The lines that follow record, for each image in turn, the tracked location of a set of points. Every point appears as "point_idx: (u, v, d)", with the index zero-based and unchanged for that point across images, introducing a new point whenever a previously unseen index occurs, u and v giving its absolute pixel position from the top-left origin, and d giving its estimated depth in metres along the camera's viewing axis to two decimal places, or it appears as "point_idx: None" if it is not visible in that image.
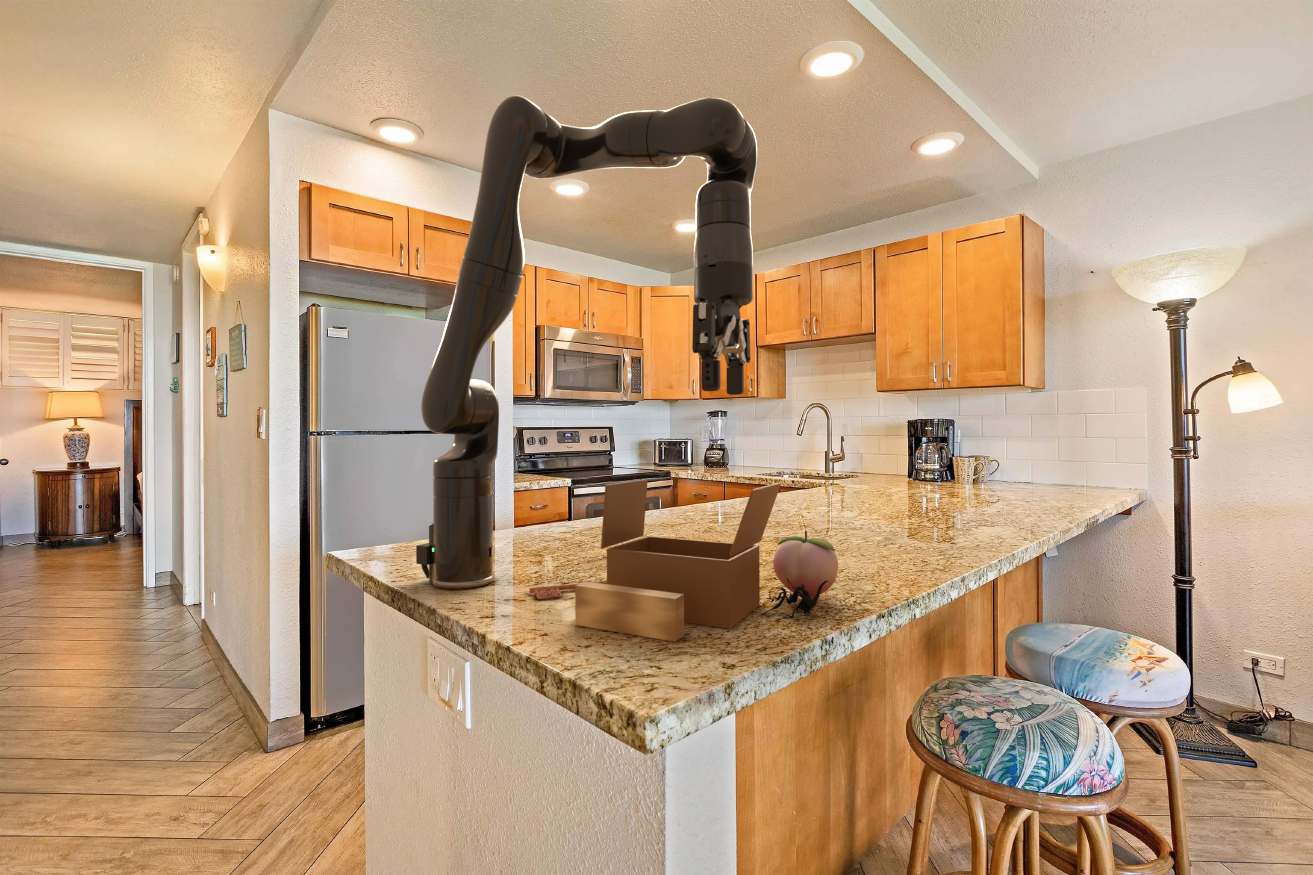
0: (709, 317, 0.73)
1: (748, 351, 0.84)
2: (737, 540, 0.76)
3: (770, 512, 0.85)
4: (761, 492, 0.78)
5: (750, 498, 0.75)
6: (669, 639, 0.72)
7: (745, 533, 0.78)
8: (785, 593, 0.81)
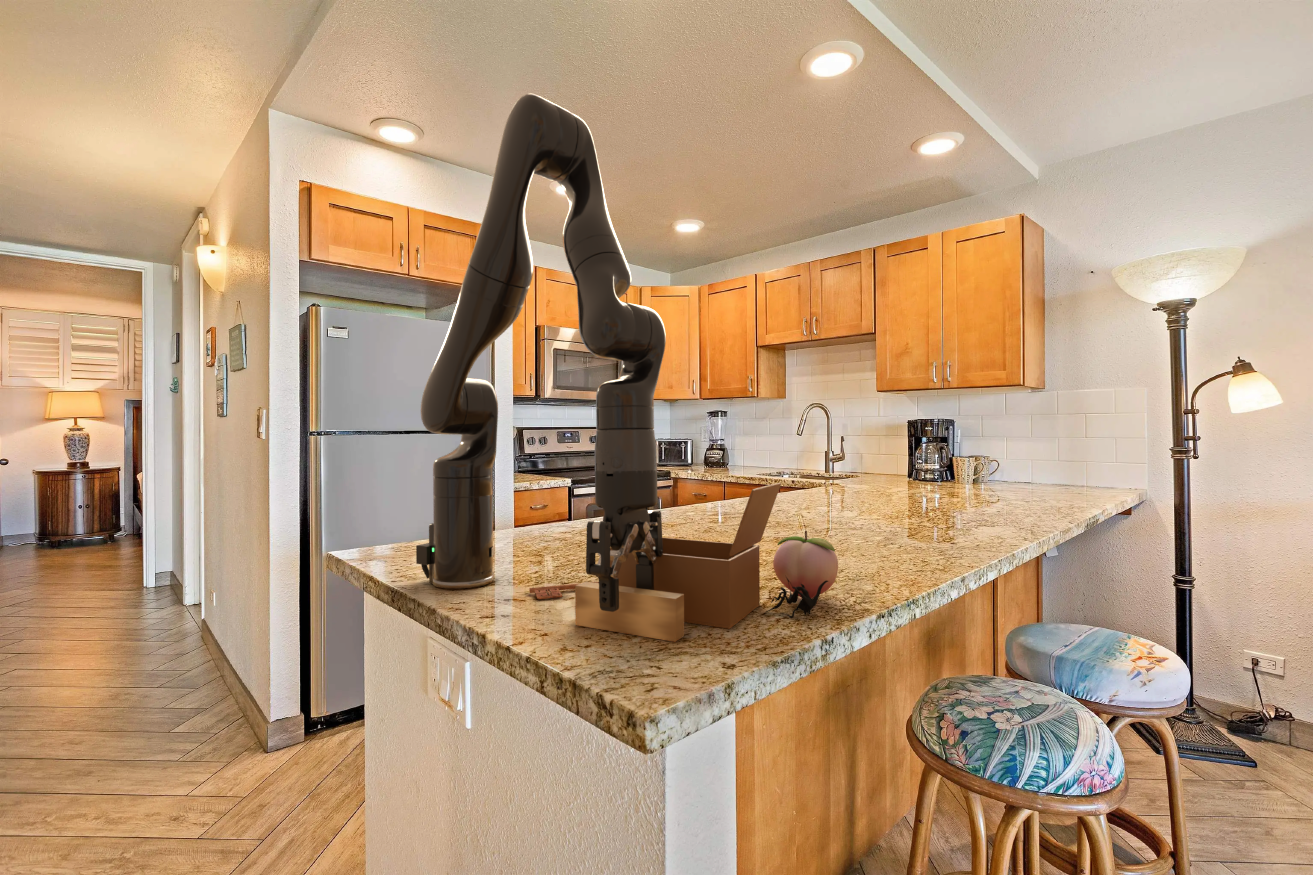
0: (602, 539, 0.68)
1: (660, 544, 0.80)
2: (737, 540, 0.76)
3: (770, 512, 0.85)
4: (761, 492, 0.78)
5: (750, 498, 0.75)
6: (669, 639, 0.72)
7: (745, 533, 0.78)
8: (785, 593, 0.81)
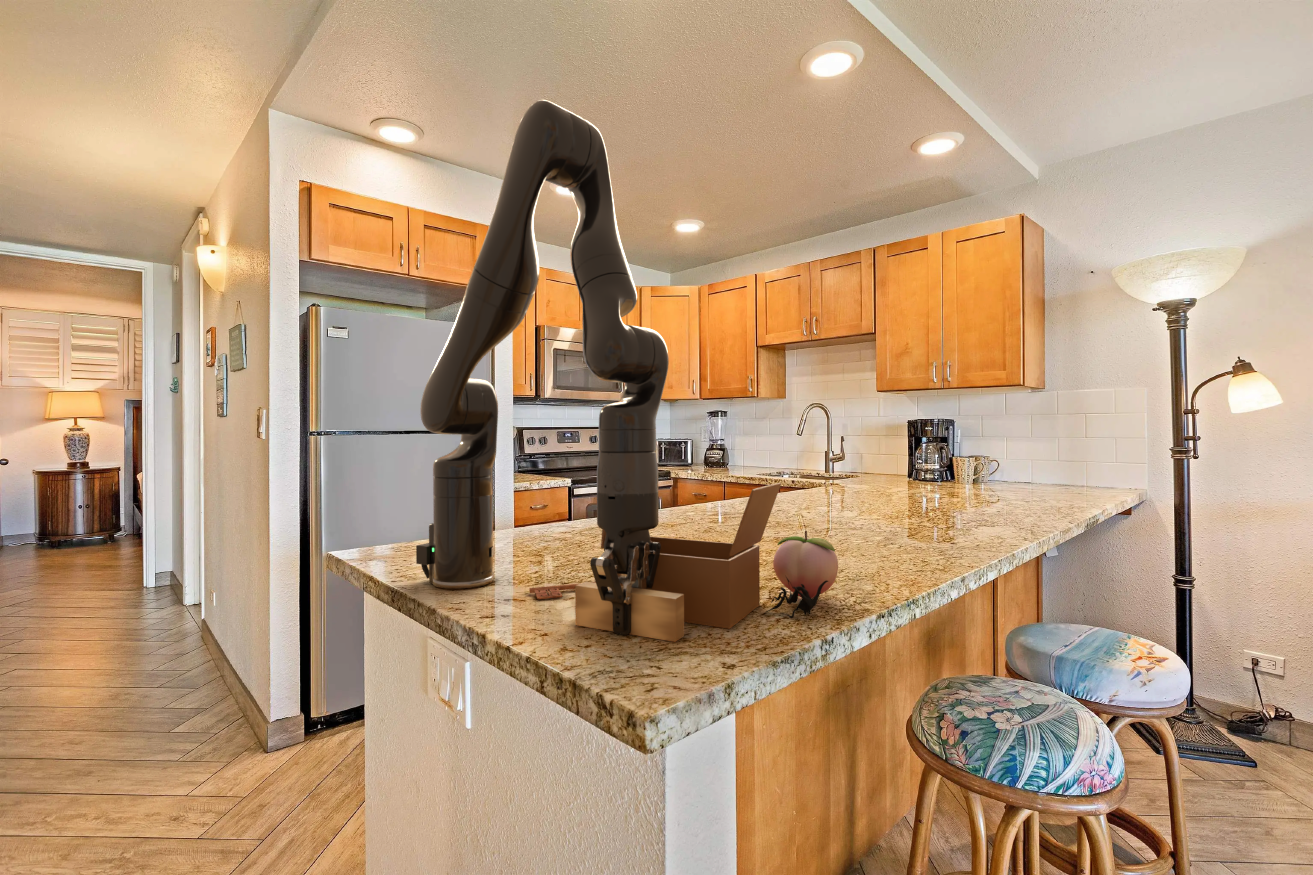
0: (609, 577, 0.70)
1: (652, 575, 0.79)
2: (737, 540, 0.76)
3: (770, 512, 0.85)
4: (761, 492, 0.78)
5: (750, 498, 0.75)
6: (669, 639, 0.72)
7: (745, 533, 0.78)
8: (785, 593, 0.81)
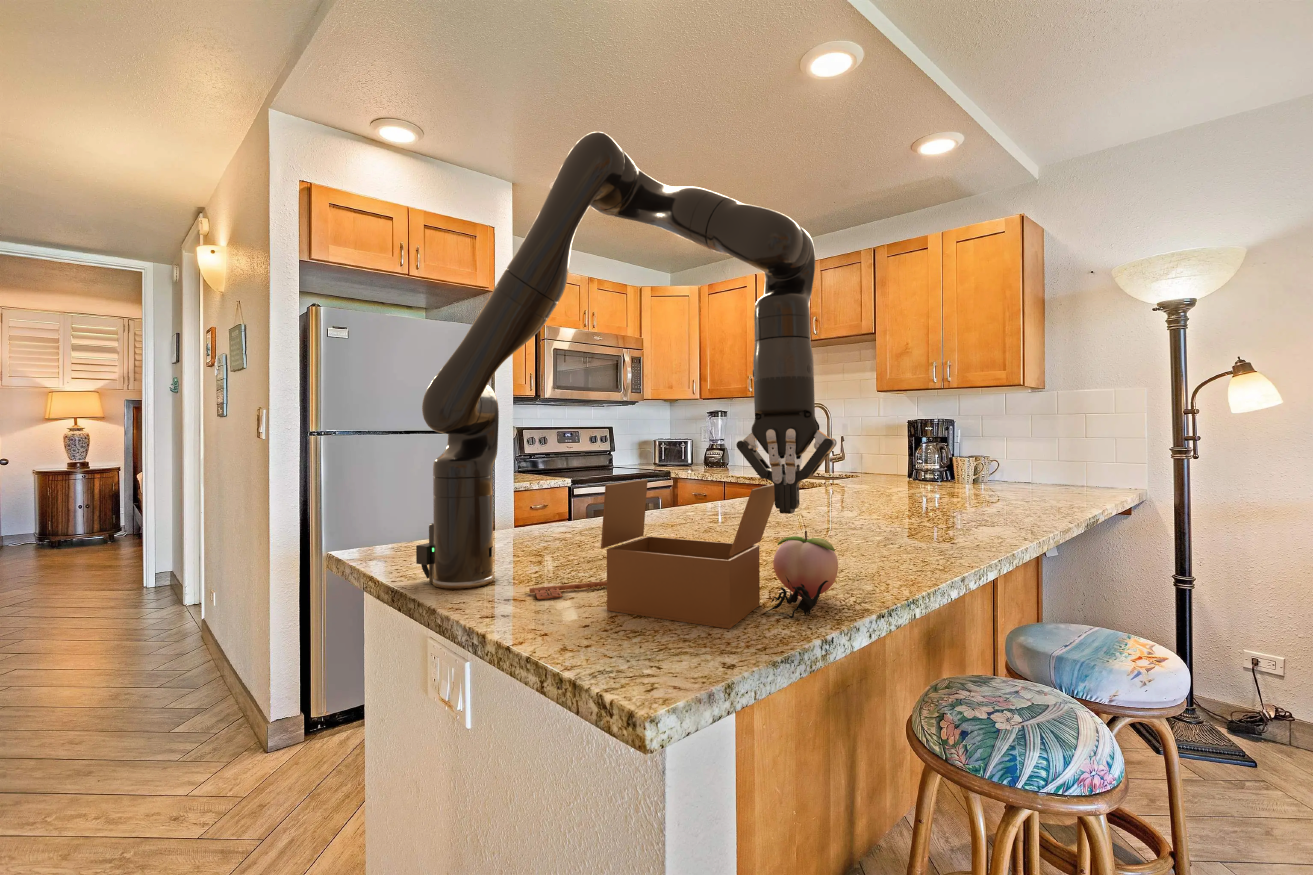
0: None
1: (808, 467, 0.76)
2: (737, 540, 0.76)
3: (770, 512, 0.85)
4: (761, 492, 0.78)
5: (750, 498, 0.75)
6: None
7: (745, 533, 0.78)
8: (785, 593, 0.81)
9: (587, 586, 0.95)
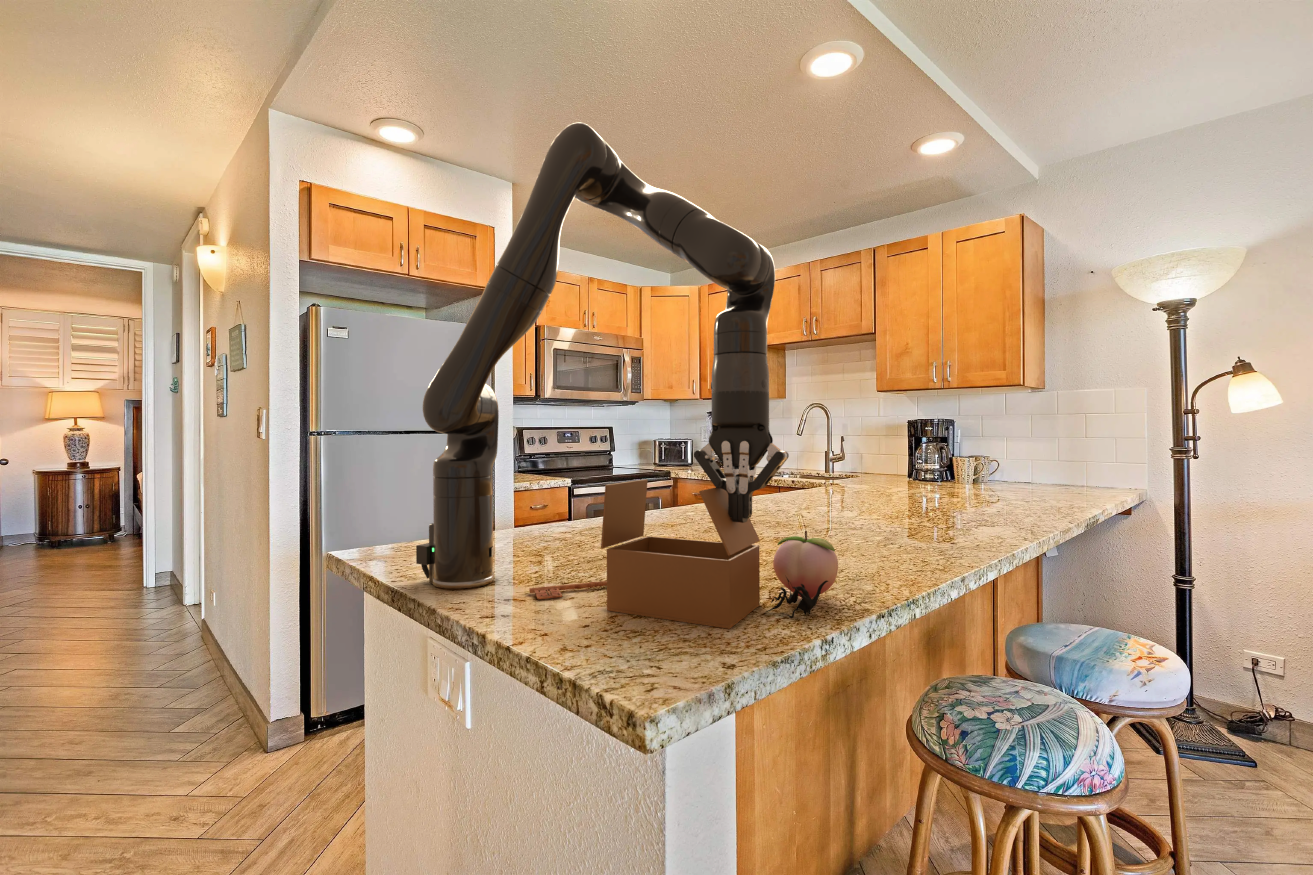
0: None
1: (760, 478, 0.79)
2: (724, 539, 0.77)
3: None
4: (713, 492, 0.81)
5: (703, 498, 0.78)
6: None
7: (729, 532, 0.79)
8: (785, 593, 0.81)
9: (587, 586, 0.95)
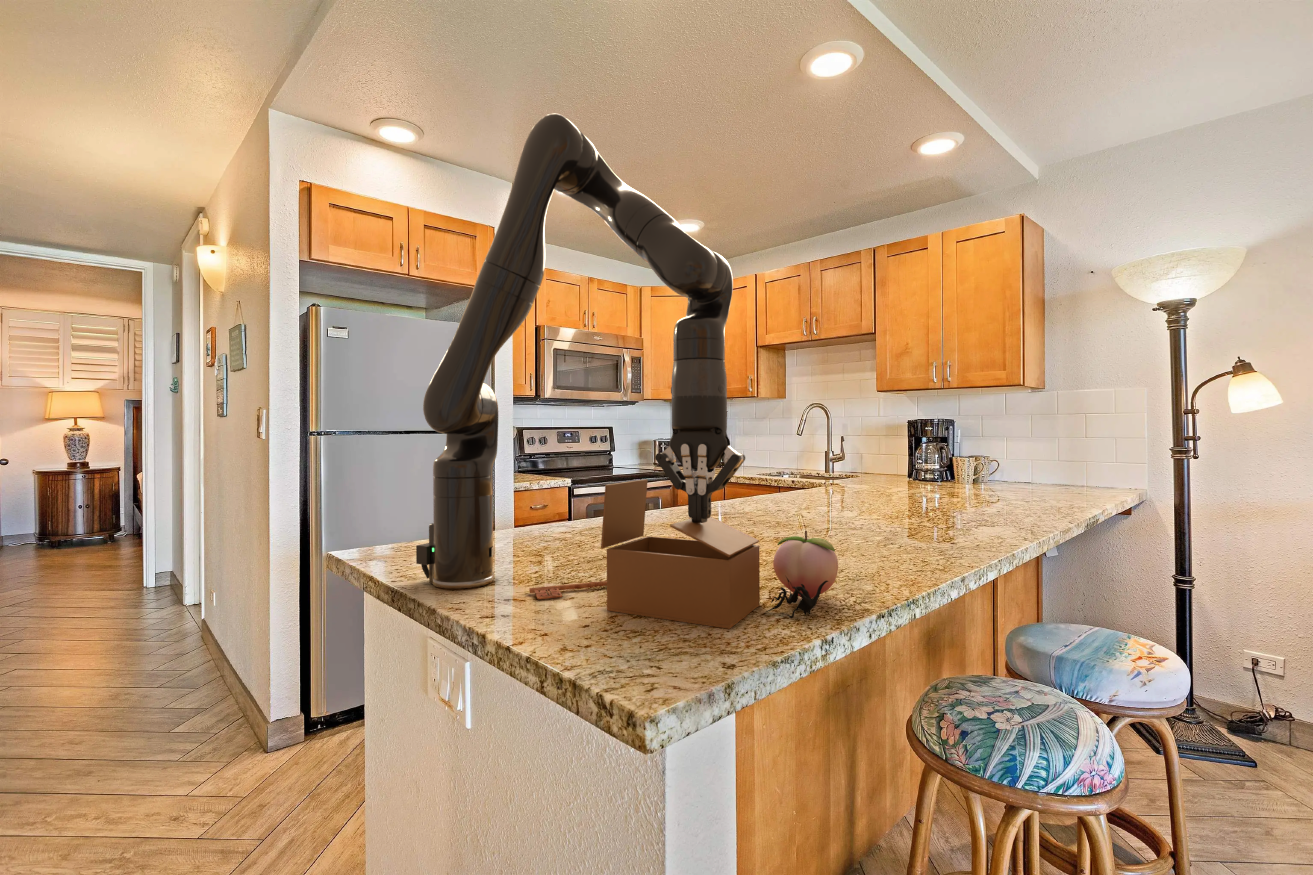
0: None
1: (717, 480, 0.82)
2: (716, 546, 0.77)
3: (730, 526, 0.88)
4: (685, 522, 0.82)
5: (677, 528, 0.79)
6: None
7: (719, 541, 0.80)
8: (785, 593, 0.81)
9: (587, 586, 0.95)
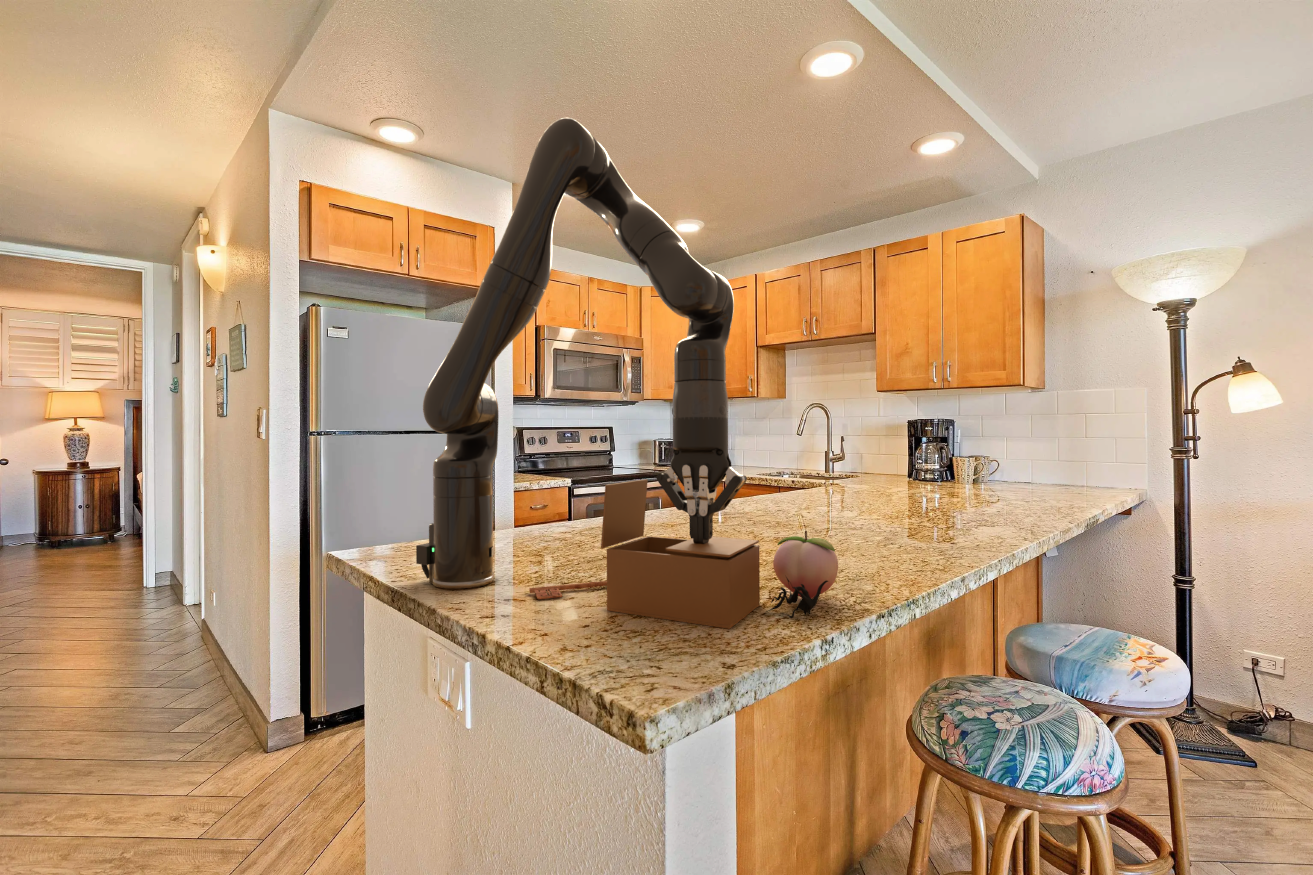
0: None
1: (718, 501, 0.82)
2: (714, 552, 0.77)
3: None
4: (681, 544, 0.83)
5: (673, 549, 0.80)
6: None
7: (717, 549, 0.80)
8: (785, 593, 0.81)
9: (587, 586, 0.95)
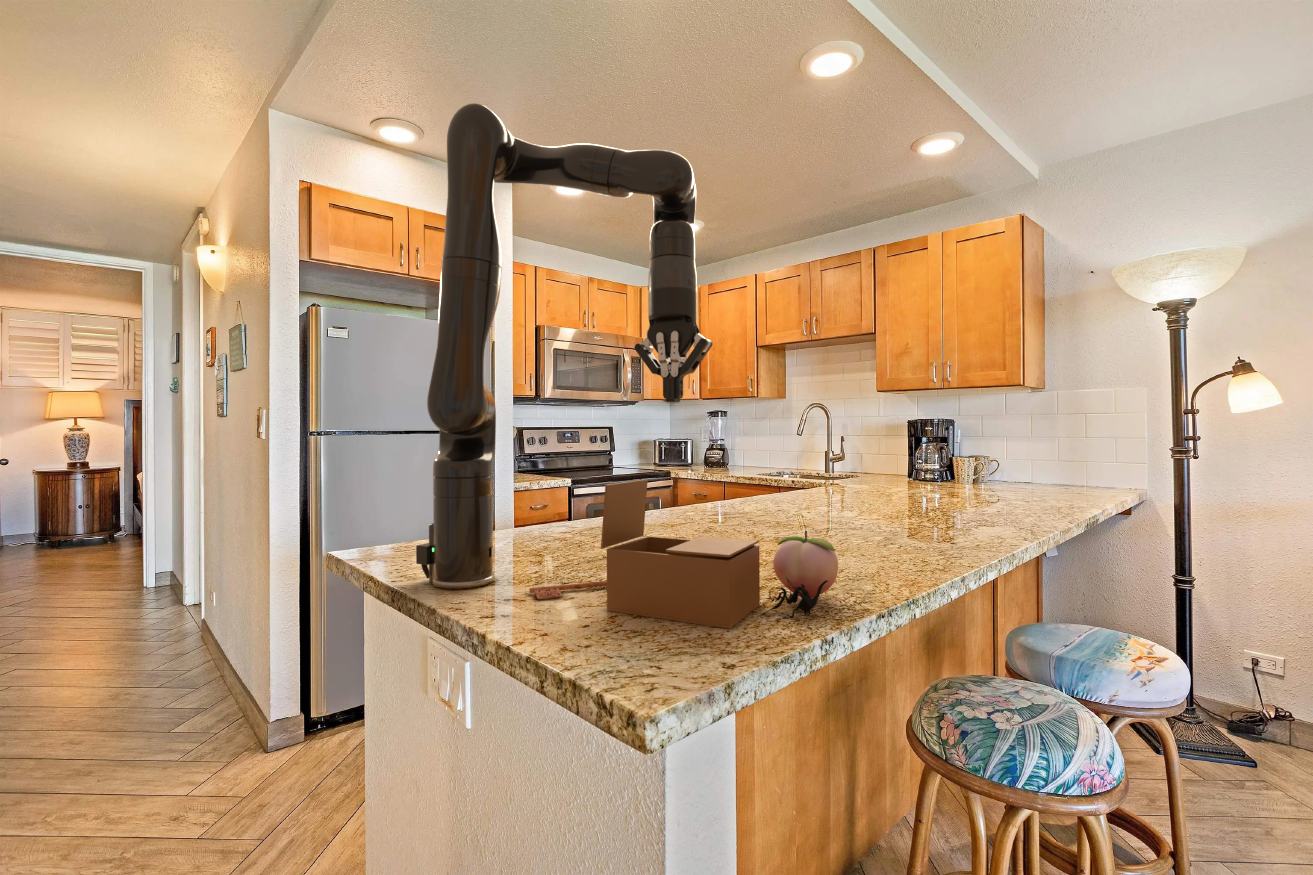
0: None
1: (687, 362, 0.93)
2: (714, 553, 0.77)
3: (728, 538, 0.88)
4: (681, 545, 0.83)
5: (673, 551, 0.80)
6: None
7: (717, 549, 0.80)
8: (785, 593, 0.81)
9: (587, 586, 0.95)
